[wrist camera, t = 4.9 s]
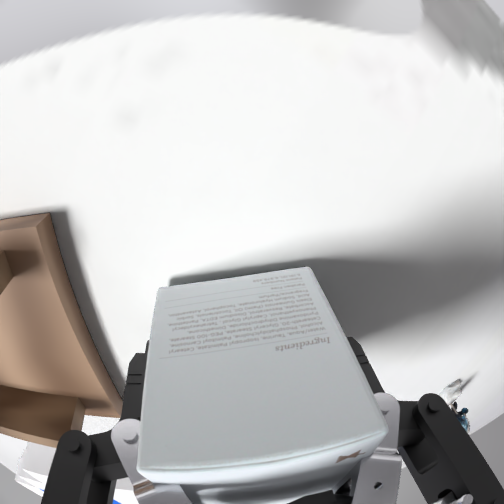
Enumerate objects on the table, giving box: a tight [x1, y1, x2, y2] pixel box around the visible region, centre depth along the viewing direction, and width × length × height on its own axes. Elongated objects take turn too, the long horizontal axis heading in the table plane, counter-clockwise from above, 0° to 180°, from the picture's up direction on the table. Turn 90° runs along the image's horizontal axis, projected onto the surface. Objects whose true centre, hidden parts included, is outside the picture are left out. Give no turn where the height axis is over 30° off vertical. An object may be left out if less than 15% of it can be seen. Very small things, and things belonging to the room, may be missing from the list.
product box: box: [137, 267, 389, 504], centre depth 10 cm, size 6×6×7 cm
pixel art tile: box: [15, 441, 139, 504], centre depth 25 cm, size 28×4×28 cm
